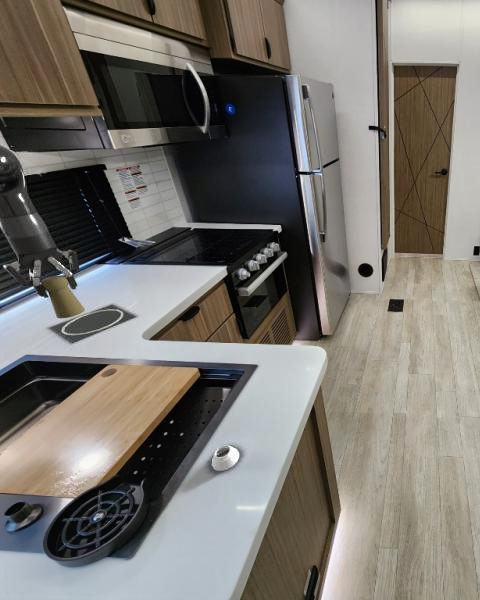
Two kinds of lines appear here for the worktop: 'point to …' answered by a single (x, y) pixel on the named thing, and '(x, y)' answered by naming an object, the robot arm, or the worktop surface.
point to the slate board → (91, 323)
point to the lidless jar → (225, 458)
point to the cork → (62, 297)
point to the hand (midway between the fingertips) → (59, 292)
